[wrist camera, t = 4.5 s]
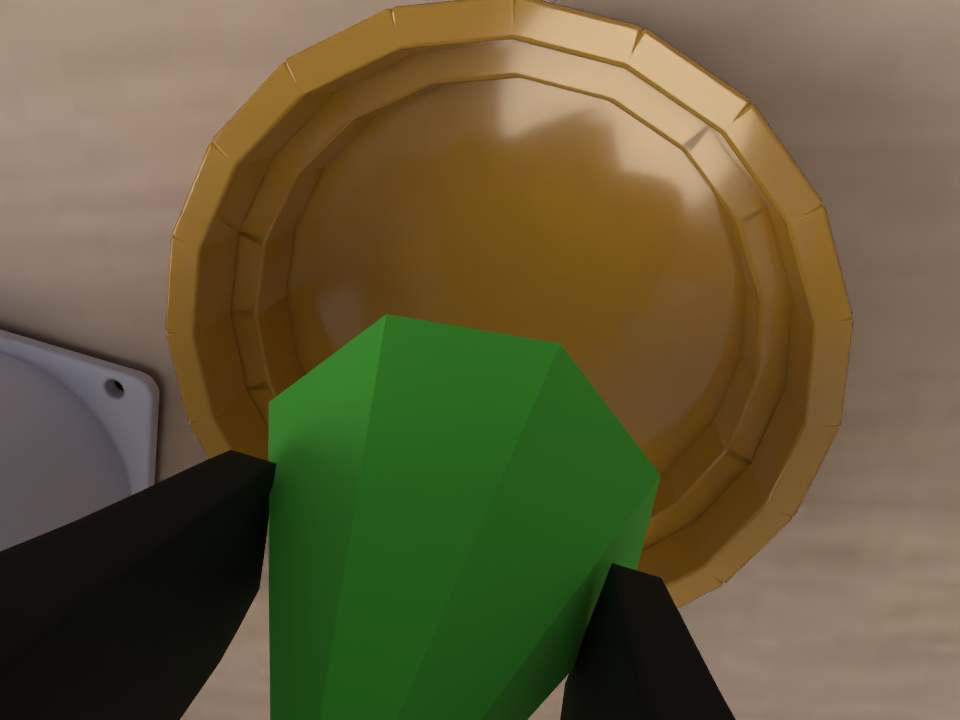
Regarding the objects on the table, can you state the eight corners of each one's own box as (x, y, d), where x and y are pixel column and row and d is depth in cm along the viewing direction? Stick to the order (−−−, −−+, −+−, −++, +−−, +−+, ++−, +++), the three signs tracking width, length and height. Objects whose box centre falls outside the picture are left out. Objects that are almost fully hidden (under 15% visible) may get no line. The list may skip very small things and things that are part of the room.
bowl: (229, 463, 19) (151, 543, 16) (284, -55, 14) (188, -91, 11) (680, 600, 18) (694, 714, 15) (905, 105, 13) (1000, 117, 10)
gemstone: (698, 650, 11) (797, 1277, 5) (333, 682, 12) (103, 1195, 7) (615, 262, 9) (627, 598, 3) (191, 357, 10) (-301, 700, 5)
